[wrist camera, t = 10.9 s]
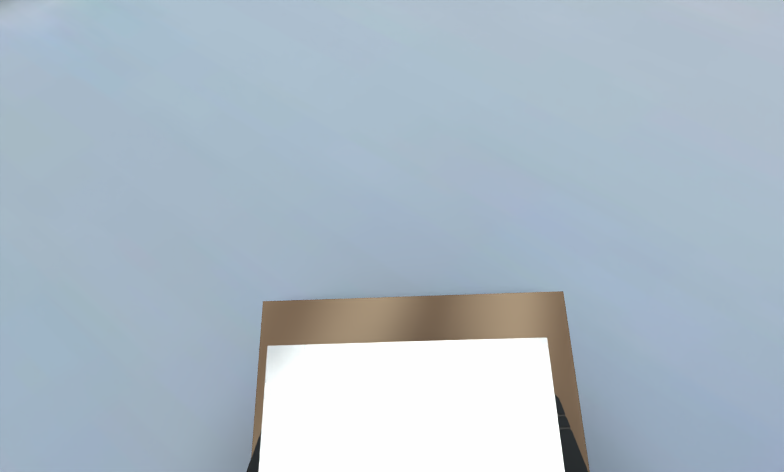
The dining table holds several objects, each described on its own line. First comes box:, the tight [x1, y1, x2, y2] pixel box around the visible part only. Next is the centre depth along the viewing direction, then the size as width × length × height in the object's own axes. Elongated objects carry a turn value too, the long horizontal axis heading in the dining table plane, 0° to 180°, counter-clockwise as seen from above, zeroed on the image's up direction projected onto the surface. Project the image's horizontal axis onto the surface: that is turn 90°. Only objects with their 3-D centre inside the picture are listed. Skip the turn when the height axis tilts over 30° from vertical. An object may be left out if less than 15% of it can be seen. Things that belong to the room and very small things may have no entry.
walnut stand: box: [251, 291, 590, 472], centre depth 22 cm, size 13×13×4 cm
